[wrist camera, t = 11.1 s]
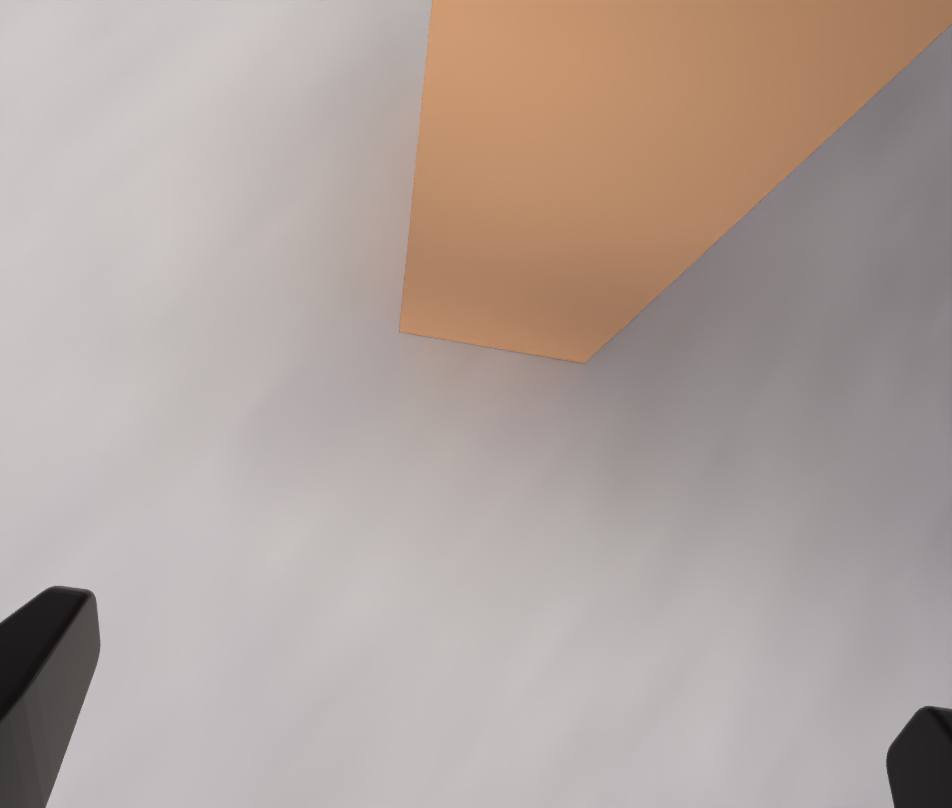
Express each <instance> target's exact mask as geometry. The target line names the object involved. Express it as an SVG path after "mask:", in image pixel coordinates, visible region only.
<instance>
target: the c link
mask: <svg viewBox="0 0 952 808" xmlns="http://www.w3.org/2000/svg"><path fill="white" fill-rule="evenodd" d="M951 24H952V0H432V7H431V17H430V27H429V37H428V47H427V57H426V67H425V77H424V87H423V97H422V107H421V117H420V127H419V137H418V147H417V158H416V168H415V178H414V188H413V198H412V208H411V218H410V228H409V238H408V248H407V258H406V268H405V278H404V288H403V298H402V308H401V318H400V328H399V332H404V333H409V334H415V335H421V336H427V337H433V338H439V339H444V340H450V341H456V342H462V343H468V344H474V345H479V346H485V347H491V348H497V349H503V350H509V351H514V352H520V353H526V354H532V355H538V356H544V357H549V358H555V359H561V360H567V361H573V362H579V363H584V364H585V363H586V362H587V361H588V360H589V359H590V358H591V357H592V356H593V355H594V354H595V353H597V352H598V351H599V350H600V349H601V348H602V347H603V346H604V345H605V344H606V343H607V342H608V341H610V340H611V339H612V338H613V337H614V336H615V335H616V334H617V333H618V332H619V331H620V330H621V329H622V328H624V327H625V326H626V325H627V324H628V323H629V322H630V321H631V320H632V319H633V318H634V317H635V316H637V315H638V314H639V313H640V312H641V311H642V310H643V309H644V308H645V307H646V306H647V305H648V304H650V303H651V302H652V301H653V300H654V299H655V298H656V297H657V296H658V295H659V294H660V293H661V292H663V291H664V290H665V289H666V288H667V287H668V286H669V285H670V284H671V283H672V282H673V281H674V280H675V279H677V278H678V277H679V276H680V275H681V274H682V273H683V272H684V271H685V270H686V269H687V268H688V267H690V266H691V265H692V264H693V263H694V262H695V261H696V260H697V259H698V258H699V257H700V256H701V255H703V254H704V253H705V252H706V251H707V250H708V249H709V248H710V247H711V246H712V245H713V244H714V243H715V242H717V241H718V240H719V239H720V238H721V237H722V236H723V235H724V234H725V233H726V232H727V231H728V230H730V229H731V228H732V227H733V226H734V225H735V224H736V223H737V222H738V221H739V220H740V219H741V218H743V217H744V216H745V215H746V214H747V213H748V212H749V211H750V210H751V209H752V208H753V207H754V206H756V205H757V204H758V203H759V202H760V201H761V200H762V199H763V198H764V197H765V196H766V195H767V194H768V193H770V192H771V191H772V190H773V189H774V188H775V187H776V186H777V185H778V184H779V183H780V182H781V181H783V180H784V179H785V178H786V177H787V176H788V175H789V174H790V173H791V172H792V171H793V170H794V169H796V168H797V167H798V166H799V165H800V164H801V163H802V162H803V161H804V160H805V159H806V158H807V157H808V156H810V155H811V154H812V153H813V152H814V151H815V150H816V149H817V148H818V147H819V146H820V145H821V144H823V143H824V142H825V141H826V140H827V139H828V138H829V137H830V136H831V135H832V134H833V133H834V132H836V131H837V130H838V129H839V128H840V127H841V126H842V125H843V124H844V123H845V122H846V121H847V120H849V119H850V118H851V117H852V116H853V115H854V114H855V113H856V112H857V111H858V110H859V109H860V108H861V107H863V106H864V105H865V104H866V103H867V102H868V101H869V100H870V99H871V98H872V97H873V96H874V95H876V94H877V93H878V92H879V91H880V90H881V89H882V88H883V87H884V86H885V85H886V84H887V83H889V82H890V81H891V80H892V79H893V78H894V77H895V76H896V75H897V74H898V73H899V72H900V71H902V70H903V69H904V68H905V67H906V66H907V65H908V64H909V63H910V62H911V61H912V60H913V59H914V58H916V57H917V56H918V55H919V54H920V53H921V52H922V51H923V50H924V49H925V48H926V47H927V46H929V45H930V44H931V43H932V42H933V41H934V40H935V39H936V38H937V37H938V36H939V35H940V34H942V33H943V32H944V31H945V30H946V29H947V28H948V27H949V26H950V25H951Z"/></svg>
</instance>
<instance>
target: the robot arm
mask: <svg viewBox="0 0 952 808" xmlns="http://www.w3.org/2000/svg"><path fill="white" fill-rule="evenodd" d="M99 653H100V633H99V623H98V613H97V602H96V598H95V595H94V594H93V592H92V591H90V590H87V589H80V588H72V587H65V586H53V587H50V588H47V589H46V590H44V591H43V592H41V593H40V594H38V595H37V596H36V597H34V598H33V599H32V600H30V601H29V602H28V603H26V604H25V605H24V606H22V607H21V608H20V609H18V610H17V611H15V612H14V613H13V614H11V615H10V616H9V617H7V618H6V619H5V620H3V621H2V622H1V623H0V808H46V805H47V802H48V800H49V797H50V794H51V792H52V789H53V786H54V784H55V781H56V778H57V775H58V772H59V770H60V767H61V764H62V761H63V758H64V755H65V753H66V750H67V747H68V744H69V741H70V739H71V736H72V733H73V730H74V727H75V725H76V722H77V719H78V716H79V713H80V711H81V708H82V705H83V702H84V699H85V696H86V694H87V691H88V688H89V685H90V682H91V680H92V677H93V674H94V671H95V668H96V665H97V662H98V658H99ZM886 767H887V774H888V779H889V784H890V788H891V793H892V798H893V803H894V808H952V709H948V708H941V707H933V706H925V707H923V708H920V709H919V710H918V711H917V712H916V713H915V714H914V715H913V717H912V718H911V719H910V721H909V722H908V723H907V724H906V726H905V727H904V728H903V730H902V731H901V732H900V734H899V735H898V736H897V737H896V739H895V740H894V741H893V743H892V744H891V746H890V747H889V750H888V753H887V759H886Z"/></svg>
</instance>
